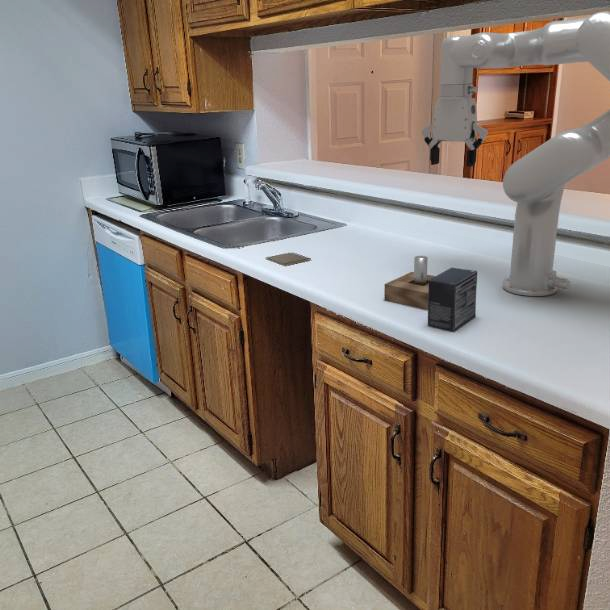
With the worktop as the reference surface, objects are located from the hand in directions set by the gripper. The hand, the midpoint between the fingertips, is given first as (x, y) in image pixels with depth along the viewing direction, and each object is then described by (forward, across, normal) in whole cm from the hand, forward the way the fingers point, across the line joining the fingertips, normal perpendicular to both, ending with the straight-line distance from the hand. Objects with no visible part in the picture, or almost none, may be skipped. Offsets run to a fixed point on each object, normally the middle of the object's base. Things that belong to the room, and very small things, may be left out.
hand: (452, 165), depth 150 cm
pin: (+28, -4, +21) cm, 35 cm away
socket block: (+28, -4, +21) cm, 35 cm away
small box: (+29, -17, +30) cm, 45 cm away
